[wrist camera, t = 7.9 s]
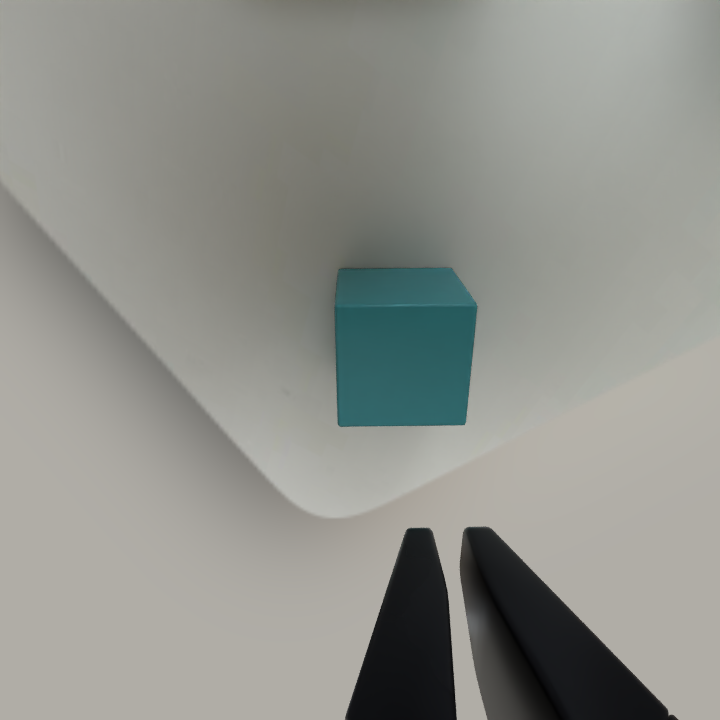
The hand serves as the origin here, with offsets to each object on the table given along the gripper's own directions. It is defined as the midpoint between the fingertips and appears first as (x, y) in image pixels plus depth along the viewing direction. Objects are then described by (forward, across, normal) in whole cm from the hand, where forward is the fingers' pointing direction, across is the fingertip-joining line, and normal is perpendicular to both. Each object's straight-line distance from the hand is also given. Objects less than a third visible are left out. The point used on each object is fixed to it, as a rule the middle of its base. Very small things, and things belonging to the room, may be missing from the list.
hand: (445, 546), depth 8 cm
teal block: (+11, 0, 0) cm, 11 cm away
